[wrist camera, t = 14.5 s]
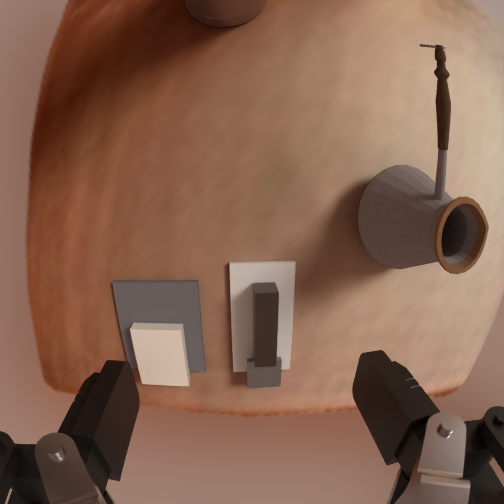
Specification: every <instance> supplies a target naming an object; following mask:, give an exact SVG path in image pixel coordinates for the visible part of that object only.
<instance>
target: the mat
mask: <svg viewBox="0 0 504 504" xmlns="http://www.w3.org/2000/svg"><path fill="white" fill-rule="evenodd" d="M112 284H113V291H114V297H115V303H116V308H117V314H118V319H119V324H120V329H121V334H122V338H123V343H124V347H125V352H126V356H127V360H128V362H129V363H130V365H131V368H132V369H138V365H137V360H136V356H135V351H134V347H133V342H132V337H131V332H130V328H131V326H132V325H133V323H167V324H183V327H184V336H185V344H186V352H187V359H188V367H189V372H205V371H206V368H205V358H204V348H203V337H202V326H201V314H200V300H199V286H198V280H182V281H113V282H112ZM138 370H139V369H138Z"/></svg>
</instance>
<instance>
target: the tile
mask: <svg viewBox="0 0 504 504" xmlns="http://www.w3.org/2000/svg"><path fill="white" fill-rule="evenodd" d="M130 332H131V337H132V342H133V347H134V351H135V356H136V360H137V365H138V369H139V373H140V377H141V381H142V384H152V385H170V386H189V382H190V374H189V367H188V359H187V352H186V344H185V336H184V327H183V324H167V323H133V325H132V326H131V328H130Z"/></svg>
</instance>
